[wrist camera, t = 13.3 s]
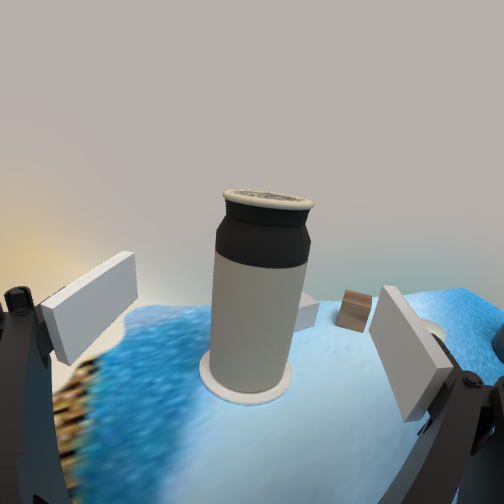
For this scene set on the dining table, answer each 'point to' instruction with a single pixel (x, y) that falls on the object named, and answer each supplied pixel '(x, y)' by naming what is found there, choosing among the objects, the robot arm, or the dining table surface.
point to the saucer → (241, 396)
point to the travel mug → (257, 286)
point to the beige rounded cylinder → (435, 329)
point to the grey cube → (306, 312)
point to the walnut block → (354, 311)
